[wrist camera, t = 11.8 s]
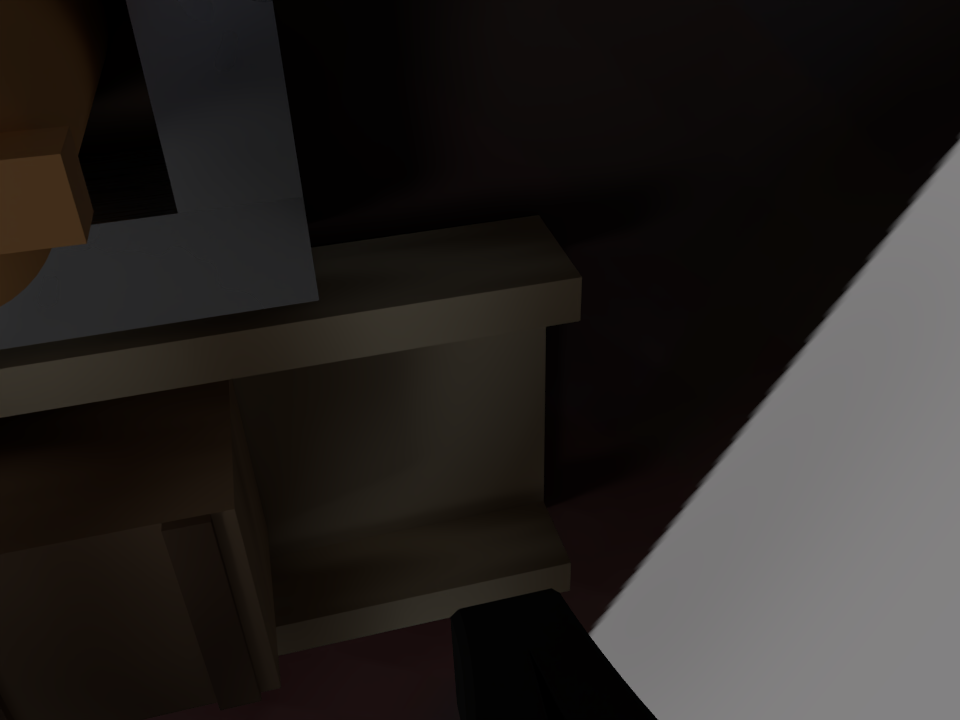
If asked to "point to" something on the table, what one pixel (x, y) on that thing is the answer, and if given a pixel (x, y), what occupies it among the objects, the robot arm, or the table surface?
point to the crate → (133, 560)
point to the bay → (371, 421)
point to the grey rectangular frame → (186, 190)
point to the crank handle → (45, 129)
